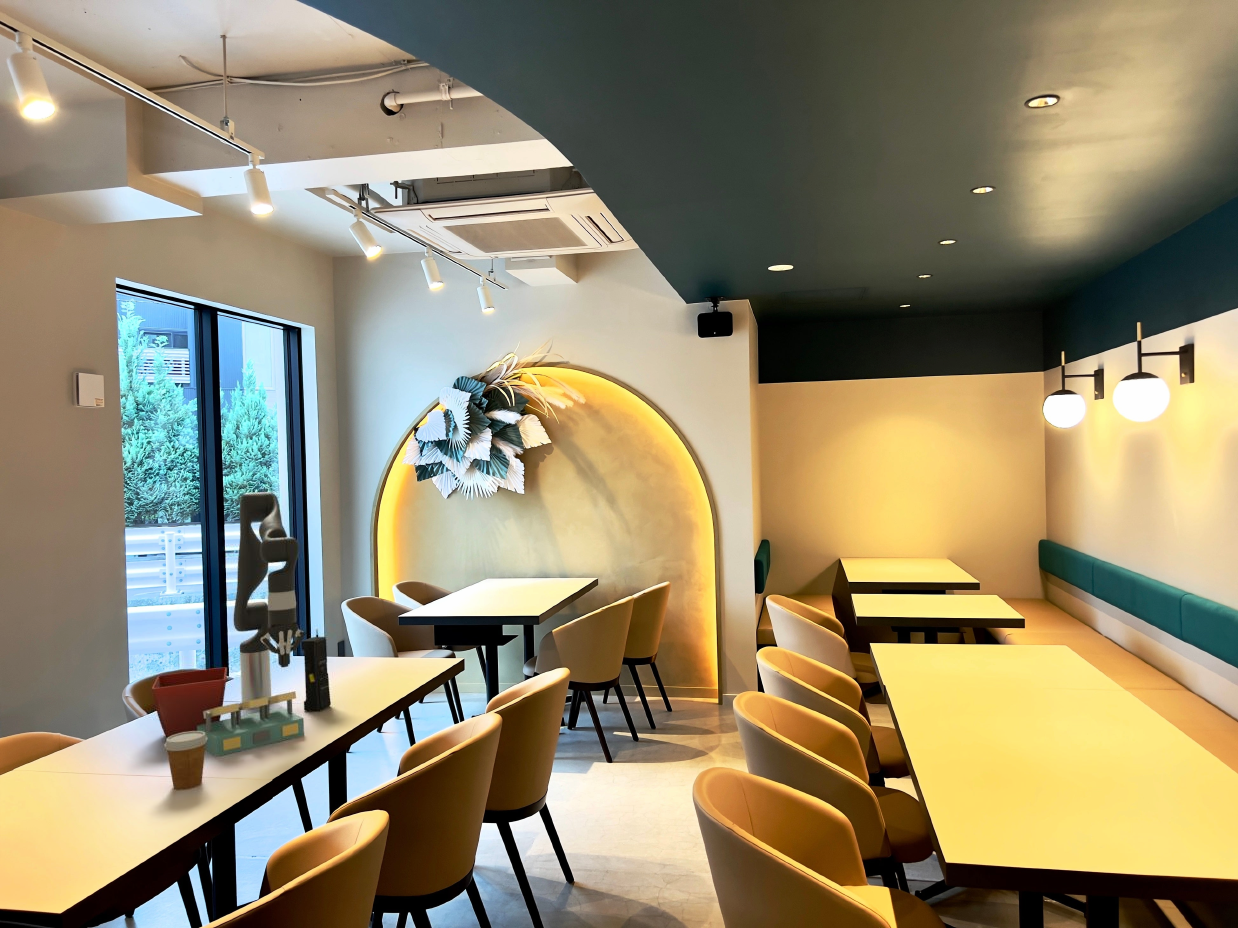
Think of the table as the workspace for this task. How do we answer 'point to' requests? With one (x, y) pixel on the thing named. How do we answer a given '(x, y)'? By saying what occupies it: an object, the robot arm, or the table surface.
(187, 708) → the plant pot
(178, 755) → the disposable coffee cup
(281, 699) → the rocker
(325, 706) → the portable radio
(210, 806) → the table surface
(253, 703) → the rocker
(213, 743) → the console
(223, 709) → the rocker
